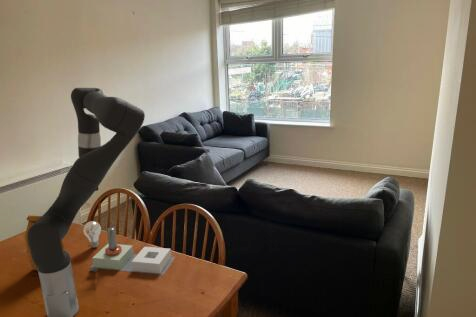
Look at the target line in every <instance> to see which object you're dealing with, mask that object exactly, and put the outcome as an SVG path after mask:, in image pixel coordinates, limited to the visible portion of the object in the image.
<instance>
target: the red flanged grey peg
mask: <svg viewBox="0 0 476 317" xmlns="http://www.w3.org/2000/svg"><path fill="white" fill-rule="evenodd" d="M116 232H117V231H116V227H115V226H110V227H108V228H106V234H107V242H108V243H107V244H109V247H107V248H106V249H105V253H106V255H108V256H114V255H117V254H119V253H121V251H122V249H121V246H119V245H117V244H118V243H117V235H116V234H117V233H116Z"/></svg>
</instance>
